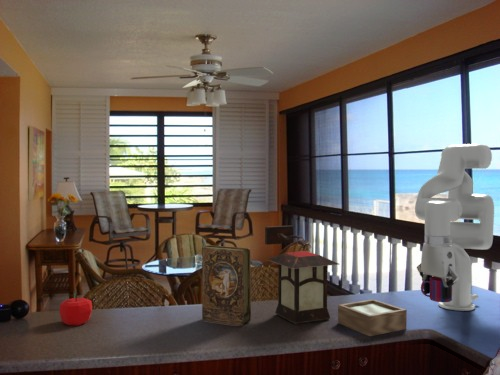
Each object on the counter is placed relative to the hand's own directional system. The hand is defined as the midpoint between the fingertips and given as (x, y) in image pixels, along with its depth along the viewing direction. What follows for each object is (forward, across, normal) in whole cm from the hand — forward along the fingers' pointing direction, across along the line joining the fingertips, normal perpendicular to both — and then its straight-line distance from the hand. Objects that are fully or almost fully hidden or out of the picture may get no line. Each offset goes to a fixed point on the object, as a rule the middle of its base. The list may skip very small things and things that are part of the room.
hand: (437, 295), depth 163 cm
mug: (+2, +1, 0) cm, 2 cm away
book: (+10, +40, +55) cm, 69 cm away
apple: (+9, +63, +99) cm, 118 cm away
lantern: (+11, +36, +29) cm, 48 cm away
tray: (+11, +13, +15) cm, 23 cm away
